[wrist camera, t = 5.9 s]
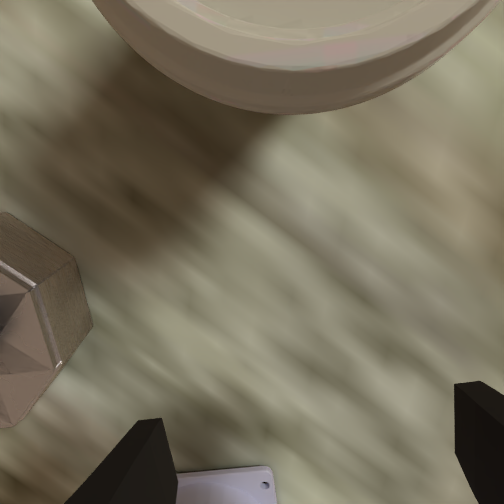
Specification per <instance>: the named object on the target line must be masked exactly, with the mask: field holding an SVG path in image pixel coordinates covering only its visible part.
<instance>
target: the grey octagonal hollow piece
mask: <svg viewBox="0 0 504 504" xmlns="http://www.w3.org/2000/svg"><path fill="white" fill-rule="evenodd" d="M92 327H93V323H92V319H91V315H90V312H89V308H88V304H87V301H86V297H85V293H84V290H83V286H82V282H81V279H80V275H79V271H78V268H77V264H76V260H75V258H74V257H73V256H72V255H70V254H69V253H67V252H66V251H64V250H63V249H61V248H60V247H58V246H57V245H55V244H54V243H52V242H51V241H49V240H48V239H46V238H45V237H43V236H42V235H40V234H39V233H37V232H36V231H34V230H33V229H31V228H30V227H28V226H27V225H25V224H24V223H22V222H21V221H19V220H18V219H16V218H15V217H13V216H12V215H10V214H9V213H6V212H2V213H0V428H6V427H13V426H15V425H16V423H17V422H18V421H21V420H23V418H24V417H25V416H26V415H27V413H28V412H29V411H30V410H31V408H32V407H33V406H34V405H35V403H36V402H37V401H38V400H39V398H40V397H41V396H42V395H43V393H44V392H45V391H46V390H47V388H48V387H49V386H50V384H51V383H52V382H53V381H54V379H55V378H56V377H57V376H58V374H59V373H60V372H61V370H62V369H63V367H64V366H65V365H66V363H67V362H68V360H69V359H70V358H71V356H72V355H73V354H74V352H75V351H76V349H77V348H78V347H79V345H80V344H81V342H82V341H83V340H84V338H85V337H86V335H87V334H88V333H89V331H90V330H91V329H92Z"/></svg>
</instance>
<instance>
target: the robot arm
mask: <svg viewBox="0 0 504 504" xmlns="http://www.w3.org/2000/svg"><path fill="white" fill-rule="evenodd" d="M454 412H455V454H456V456H457V458H458V461H459V463H460V465H461V468H462V470H463V472H464V474H465V477H466V479H467V481H468V483H469V485H470V487H471V489H472V492H473V494H474V496H475V498H476V499H477V501H478V503H479V504H504V395H503V394H501V393H499V392H498V391H496V390H495V389H493V388H491V387H490V386H488V385H486V384H485V383H483V382H481V381H475V382H466V383H458V384H454ZM262 482H267V483H262ZM64 504H277V497H276V491H275V484H274V477H273V472H272V469H270V468H269V467H267V466H255V467H244V468H234V469H223V470H212V471H201V472H190V473H180V474H176V471H175V467H174V463H173V459H172V455H171V452H170V448H169V444H168V440H167V436H166V432H165V429H164V425H163V421H162V418H155V419H147V420H138V421H137V422H136V424H135V425H134V426H133V427H132V428H131V429H130V430H129V431H128V432H127V434H126V435H125V436H124V437H123V438H122V439H121V441H120V442H119V443H118V444H117V445H116V446H115V448H114V449H113V450H112V451H111V452H110V453H109V455H108V456H107V457H106V458H105V459H104V460H103V461H102V463H101V464H100V465H99V466H98V467H97V468H96V469H95V470H94V472H93V473H92V474H91V475H90V476H89V477H88V478H87V479H86V481H85V482H84V483H83V484H82V485H81V486H80V487H79V488H78V489H77V490H76V491H75V493H74V494H73V495H72V496H71V497H70V498H69V499H68V500H67V501H66V502H65V503H64Z"/></svg>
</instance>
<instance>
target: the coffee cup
mask: <svg viewBox="0 0 504 504" xmlns="http://www.w3.org/2000/svg"><path fill="white" fill-rule="evenodd" d="M92 1H93V2H94V4H95V5H96V7H97V8H98V10H99V11H100V12H101V13H102V15H103V16H104V17H105V19H106V20H107V21H108V22H109V24H110V25H111V26H112V27H113V28H114V30H115V31H116V32H117V33H118V34H119V35H120V36H121V37H122V39H123V40H124V41H125V42H126V43H127V44H128V45H129V46H130V47H131V48H132V49H134V50H135V51H136V52H137V53H138V54H139V55H140V56H141V57H142V58H143V59H145V60H146V61H147V62H148V63H150V64H151V65H152V66H153V67H155V68H156V69H157V70H159V71H160V72H161V73H163V74H164V75H166V76H167V77H169V78H170V79H172V80H173V81H175V82H177V83H178V84H180V85H182V86H184V87H185V88H187V89H189V90H191V91H193V92H195V93H197V94H199V95H201V96H204V97H206V98H209V99H211V100H214V101H216V102H219V103H222V104H225V105H228V106H232V107H235V108H239V109H243V110H248V111H253V112H260V113H268V114H282V115H298V114H312V113H321V112H327V111H332V110H337V109H341V108H345V107H349V106H353V105H356V104H359V103H362V102H365V101H368V100H371V99H373V98H376V97H378V96H380V95H383V94H385V93H387V92H389V91H391V90H393V89H395V88H397V87H399V86H401V85H403V84H404V83H406V82H408V81H410V80H411V79H413V78H415V77H416V76H418V75H419V74H421V73H422V72H424V71H425V70H427V69H428V68H429V67H431V66H432V65H434V64H435V63H436V62H438V61H439V60H440V59H441V58H443V57H444V56H445V55H446V54H447V53H449V52H450V51H451V50H452V49H453V48H454V47H455V46H457V45H458V44H459V43H460V42H461V41H462V40H463V39H464V38H465V37H466V36H467V35H468V34H469V33H470V32H471V31H472V30H473V29H475V28H476V27H477V26H478V25H479V24H480V23H481V22H482V21H483V20H484V19H485V18H486V17H487V16H488V14H489V13H490V12H491V11H492V10H493V9H494V8H495V7H496V6H497V5H498V3H499V2H500V1H501V0H92Z"/></svg>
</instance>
